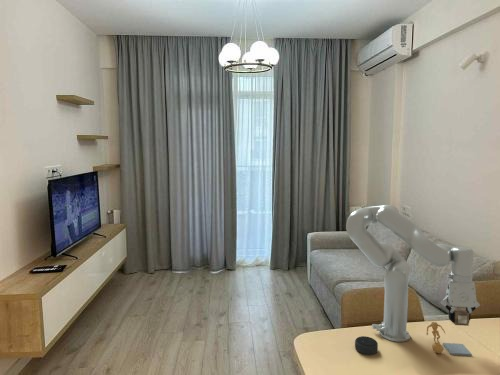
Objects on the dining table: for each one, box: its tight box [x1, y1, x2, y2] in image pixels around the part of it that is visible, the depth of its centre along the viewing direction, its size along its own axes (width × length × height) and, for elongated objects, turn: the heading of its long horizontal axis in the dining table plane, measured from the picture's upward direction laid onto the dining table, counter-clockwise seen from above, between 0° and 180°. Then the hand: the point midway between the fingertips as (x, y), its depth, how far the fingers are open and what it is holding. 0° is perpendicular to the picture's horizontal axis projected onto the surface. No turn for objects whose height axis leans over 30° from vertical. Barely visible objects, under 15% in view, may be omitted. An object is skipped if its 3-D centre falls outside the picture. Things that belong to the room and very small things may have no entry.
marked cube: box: [453, 307, 470, 327], centre depth 150 cm, size 5×5×5 cm
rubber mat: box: [442, 342, 473, 357], centre depth 152 cm, size 8×8×1 cm
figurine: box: [426, 321, 446, 354], centre depth 150 cm, size 8×6×12 cm
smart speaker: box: [354, 336, 379, 356], centre depth 152 cm, size 9×9×4 cm
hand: (459, 320), depth 151 cm, fingers closed on marked cube, 5 cm apart
